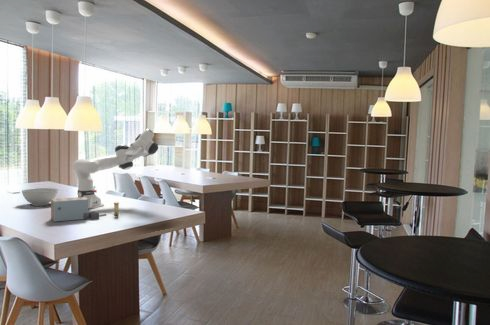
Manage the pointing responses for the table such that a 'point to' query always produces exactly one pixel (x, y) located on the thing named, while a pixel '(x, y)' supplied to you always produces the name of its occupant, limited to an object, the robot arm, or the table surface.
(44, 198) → the decorative bowl
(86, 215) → the grey hollow ring
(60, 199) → the cabinet
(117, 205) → the hinge pin
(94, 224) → the table surface
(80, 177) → the robot arm
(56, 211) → the cabinet door
